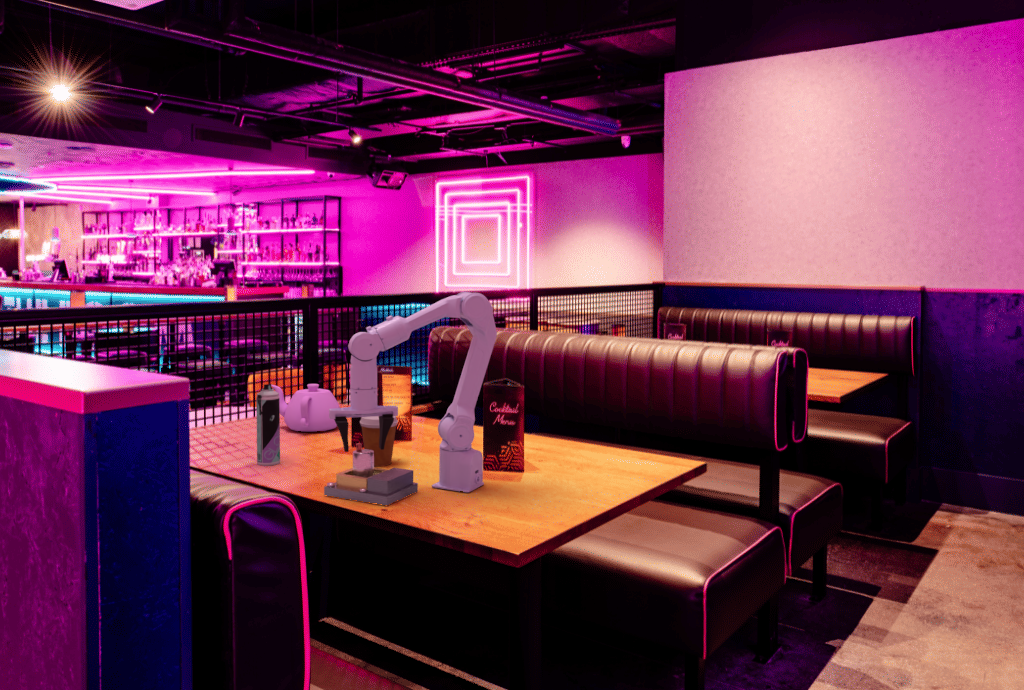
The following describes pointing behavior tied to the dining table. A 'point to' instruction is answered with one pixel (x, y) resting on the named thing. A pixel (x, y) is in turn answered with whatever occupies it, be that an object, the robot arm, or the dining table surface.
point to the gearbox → (373, 486)
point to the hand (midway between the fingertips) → (364, 449)
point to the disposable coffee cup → (372, 439)
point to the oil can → (363, 462)
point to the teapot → (308, 409)
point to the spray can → (268, 426)
